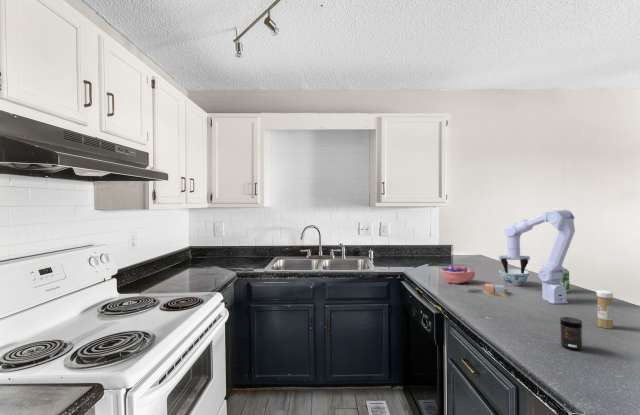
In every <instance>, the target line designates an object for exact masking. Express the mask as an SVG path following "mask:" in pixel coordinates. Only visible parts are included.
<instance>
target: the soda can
mask: <svg viewBox="0 0 640 415" xmlns="http://www.w3.org/2000/svg"><path fill="white" fill-rule="evenodd" d="M563 273H564V277H563V279H561V282H560V283H561V285H562V286H564V287H565V288H566V294H568V292H570V291H571V288H570V286H571V285H570V271H569V270H568V269H567V268H564V271H563Z"/></svg>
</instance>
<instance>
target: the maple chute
mask: <svg viewBox="0 0 640 415" xmlns="http://www.w3.org/2000/svg"><path fill="white" fill-rule="evenodd" d="M467 293H470V294H480V295H484V296H492V297H503V298H508V296H509V294H508V289H507V288H504V293H495V287H494V292H485V290H483V289H473V288H468V290H467Z"/></svg>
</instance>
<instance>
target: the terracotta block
mask: <svg viewBox="0 0 640 415" xmlns="http://www.w3.org/2000/svg"><path fill="white" fill-rule="evenodd" d="M494 288H495V284H492V283H485V284H484V291H485V292H495V291H494Z"/></svg>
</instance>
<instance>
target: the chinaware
mask: <svg viewBox="0 0 640 415" xmlns="http://www.w3.org/2000/svg"><path fill="white" fill-rule="evenodd" d="M498 272H499V276H500V277H501V279H502V280H503V281H504V282H505V283H506V284H507V285H509V286H512V287H513V286H514V287H520V286H521V285H522V284H523V283H525V282H526V281H527V280H528V278H529V276H530V271H528V270H524V274H522V273H521V269H518V268H508V273H505V269H504V268H501V269H499V270H498Z"/></svg>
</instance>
